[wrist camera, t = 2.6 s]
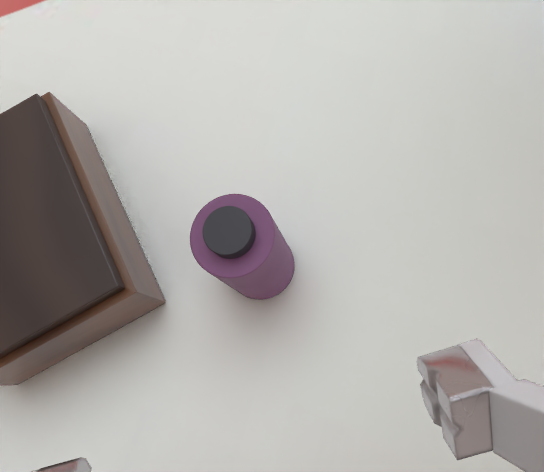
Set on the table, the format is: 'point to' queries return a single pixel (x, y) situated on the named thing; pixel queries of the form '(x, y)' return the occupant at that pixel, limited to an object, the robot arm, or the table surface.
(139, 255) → the flat rectangular box
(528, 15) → the table surface
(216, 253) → the lotion bottle
